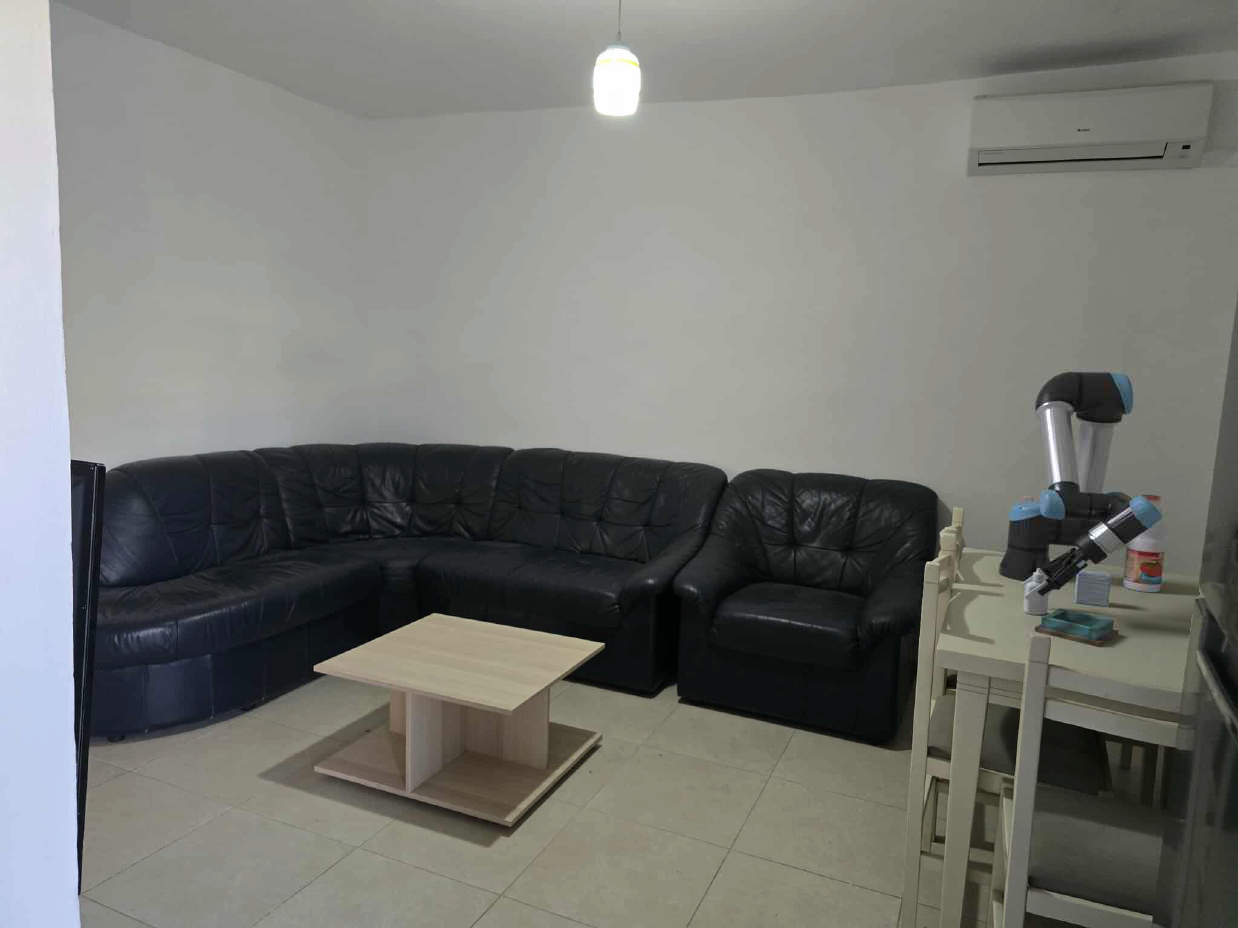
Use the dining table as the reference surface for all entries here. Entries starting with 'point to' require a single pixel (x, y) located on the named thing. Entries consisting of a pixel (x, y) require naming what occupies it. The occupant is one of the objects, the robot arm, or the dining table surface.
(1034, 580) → the eye dropper bottle
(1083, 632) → the bottle stand
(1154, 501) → the fruit juice
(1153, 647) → the dining table surface
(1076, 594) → the medicine box
